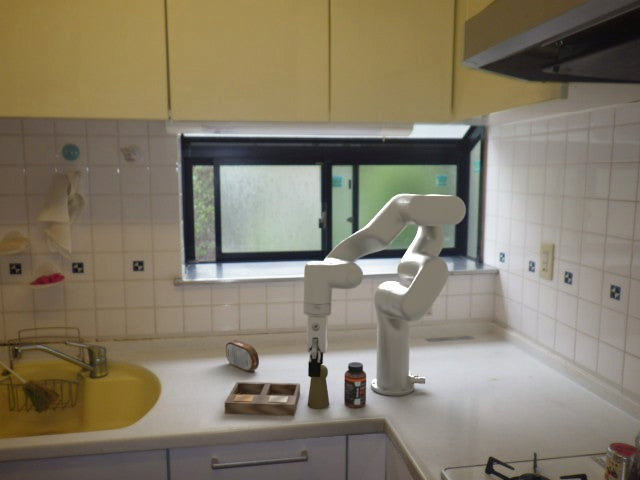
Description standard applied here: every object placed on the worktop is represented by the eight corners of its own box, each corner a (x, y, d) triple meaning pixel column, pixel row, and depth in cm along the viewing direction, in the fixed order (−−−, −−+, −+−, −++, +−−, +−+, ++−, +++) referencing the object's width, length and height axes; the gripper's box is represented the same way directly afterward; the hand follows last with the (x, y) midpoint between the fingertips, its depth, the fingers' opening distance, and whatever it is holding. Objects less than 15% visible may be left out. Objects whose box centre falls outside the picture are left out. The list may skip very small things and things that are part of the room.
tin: (259, 372, 165) (259, 347, 164) (252, 375, 163) (251, 349, 162) (232, 361, 176) (231, 337, 175) (224, 363, 173) (223, 339, 172)
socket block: (300, 393, 149) (300, 382, 149) (294, 415, 135) (294, 403, 135) (236, 391, 150) (236, 381, 150) (224, 413, 136) (224, 401, 136)
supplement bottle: (363, 410, 138) (363, 369, 137) (341, 407, 140) (342, 367, 139) (368, 401, 144) (368, 361, 143) (347, 398, 146) (347, 359, 144)
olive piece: (327, 410, 138) (327, 370, 137) (305, 408, 139) (304, 369, 138) (331, 400, 144) (331, 362, 143) (310, 399, 145) (309, 361, 144)
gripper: (329, 316, 130) (327, 382, 131) (332, 301, 147) (331, 360, 149) (300, 315, 130) (298, 381, 132) (306, 300, 147) (305, 358, 149)
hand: (315, 370), depth 140 cm, fingers open, 9 cm apart
